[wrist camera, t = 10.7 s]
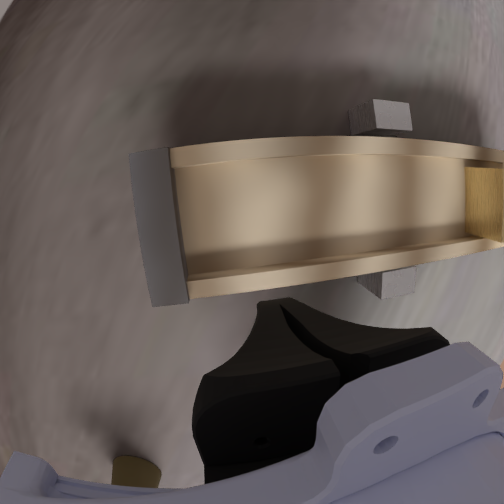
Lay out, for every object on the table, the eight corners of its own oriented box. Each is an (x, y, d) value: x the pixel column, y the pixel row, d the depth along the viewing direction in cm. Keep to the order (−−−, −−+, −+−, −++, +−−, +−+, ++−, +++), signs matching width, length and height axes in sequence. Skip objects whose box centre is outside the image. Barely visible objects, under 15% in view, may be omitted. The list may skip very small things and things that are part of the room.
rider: (464, 232, 19) (501, 242, 15) (464, 167, 18) (502, 168, 14) (503, 226, 19) (535, 235, 15) (503, 170, 18) (536, 173, 14)
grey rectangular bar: (357, 281, 23) (381, 299, 19) (348, 110, 20) (372, 99, 16) (388, 276, 24) (414, 292, 20) (380, 112, 20) (408, 103, 16)
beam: (164, 288, 19) (154, 313, 15) (145, 153, 17) (128, 146, 13) (500, 238, 22) (528, 247, 18) (500, 150, 20) (529, 151, 16)
